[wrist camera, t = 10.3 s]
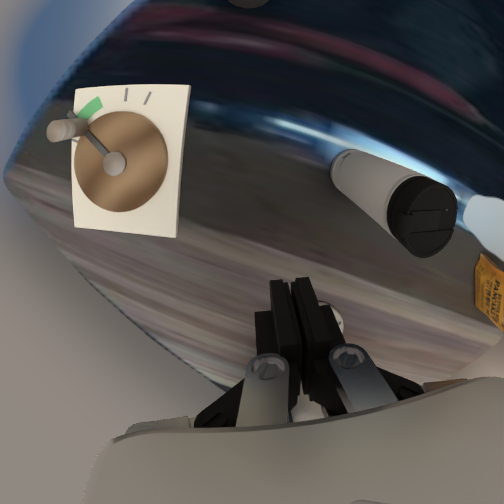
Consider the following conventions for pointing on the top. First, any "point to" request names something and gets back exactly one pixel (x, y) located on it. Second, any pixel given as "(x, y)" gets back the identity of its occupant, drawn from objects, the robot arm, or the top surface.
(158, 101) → the dial plate
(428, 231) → the travel mug
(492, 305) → the pancake mix bag
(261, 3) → the candle holder
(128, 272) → the top surface
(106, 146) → the dial
